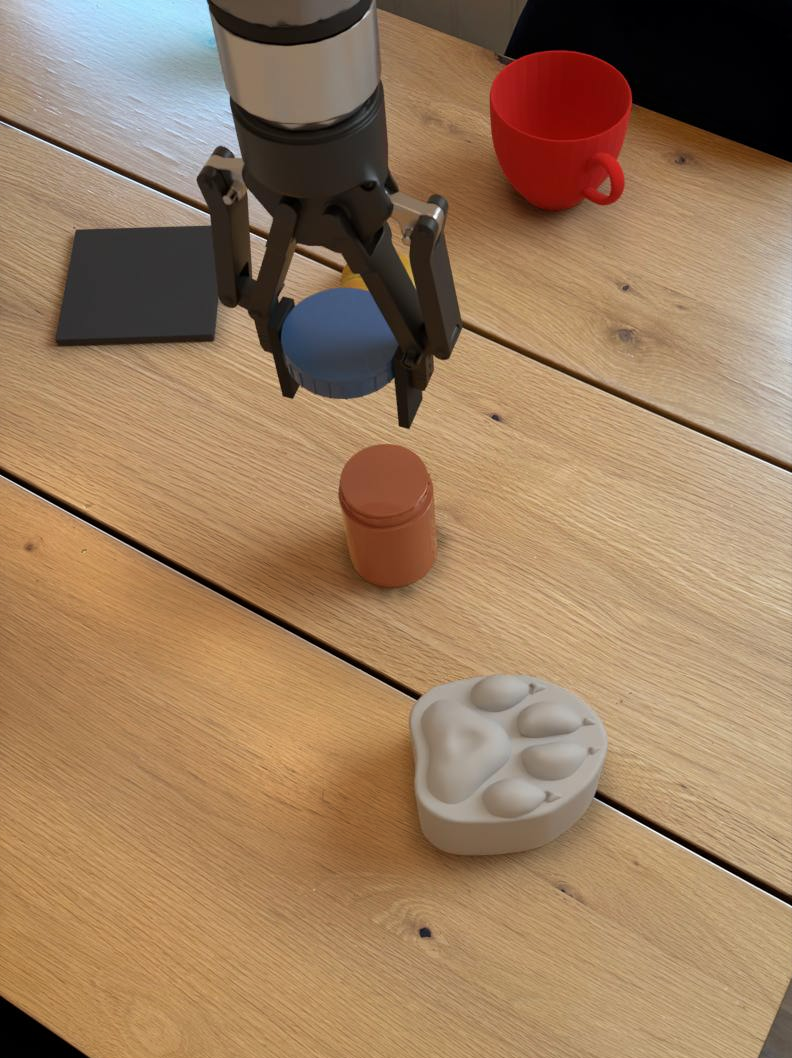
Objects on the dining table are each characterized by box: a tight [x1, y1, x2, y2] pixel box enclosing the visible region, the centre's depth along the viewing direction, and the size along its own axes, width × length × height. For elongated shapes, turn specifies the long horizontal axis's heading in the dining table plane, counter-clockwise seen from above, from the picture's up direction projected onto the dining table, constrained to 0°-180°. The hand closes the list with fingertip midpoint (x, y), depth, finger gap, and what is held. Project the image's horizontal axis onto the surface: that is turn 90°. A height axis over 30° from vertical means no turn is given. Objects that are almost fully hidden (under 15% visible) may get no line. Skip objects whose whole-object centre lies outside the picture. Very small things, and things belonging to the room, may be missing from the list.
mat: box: [54, 224, 219, 347], centre depth 97 cm, size 14×14×1 cm
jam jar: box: [337, 443, 438, 588], centre depth 80 cm, size 7×7×10 cm
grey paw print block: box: [408, 673, 609, 856], centre depth 71 cm, size 10×13×9 cm
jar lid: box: [281, 287, 399, 400], centre depth 66 cm, size 8×8×2 cm
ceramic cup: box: [489, 50, 633, 211], centre depth 99 cm, size 13×17×10 cm
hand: (352, 397), depth 71 cm, fingers closed on jar lid, 8 cm apart
